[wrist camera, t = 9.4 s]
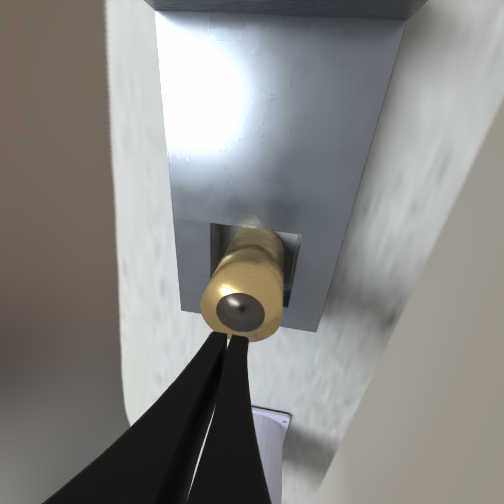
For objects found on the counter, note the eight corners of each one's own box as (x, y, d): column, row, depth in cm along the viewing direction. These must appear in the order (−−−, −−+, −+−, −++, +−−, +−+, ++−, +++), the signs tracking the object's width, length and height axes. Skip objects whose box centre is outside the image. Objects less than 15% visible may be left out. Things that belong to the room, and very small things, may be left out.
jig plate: (313, 310, 20) (320, 360, 16) (192, 292, 21) (167, 333, 17) (399, -14, 11) (477, -119, 6) (175, -20, 12) (106, -114, 7)
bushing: (280, 278, 19) (276, 349, 13) (228, 271, 19) (200, 336, 13) (288, 230, 17) (288, 285, 11) (230, 223, 17) (198, 272, 11)
